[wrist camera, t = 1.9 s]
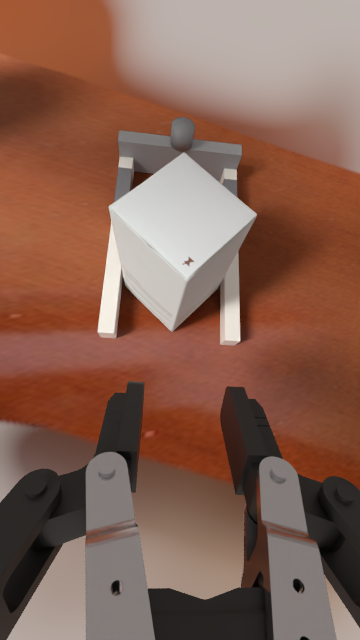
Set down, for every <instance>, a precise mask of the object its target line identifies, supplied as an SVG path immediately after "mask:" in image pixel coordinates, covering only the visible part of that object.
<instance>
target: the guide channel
mask: <svg viewBox="0 0 360 640" xmlns="http://www.w3.org/2000/svg"><path fill="white" fill-rule="evenodd" d="M194 130H195V125H194V123H193V122H192V121H191V120H190V119H188V118H185V117H179V118H176V119H174V120H173V122H172V126H171V136H163V135H155V134H147V133H138V132H130V131H122V130H119V136H118V146H119V154H120V158H119V166H118V174H117V182H116V190H115V198H114V202H115V201H117V200H118V199H120V198H121V197H123V196H124V195H125V194H127V193H128V192H130V191H131V190H132V186H133V177H134V172H142V173H151V174H155V173H156V172H158V171H159V170H160V169H162V168H163V167H164V166H166V165H167V164H168V163H170V162H171V161H173V160H174V159H175V158H177V157H178V156H179V155H181V154H182V153H186V154H187V155H188V156H189V157H190V158H192V159H193V160H194V161H195V162H196V163H197V164H199V165H200V166H201V167H202V168H203V169H204V170H206V171H207V172H208V173H209V174H210V175H211V176H213V177H214V178H215V179H216V180H217V181H220V183H221V184H222V185H223V186H224V187H225V188H227V189H228V190H229V191H230V192H231V193H232V194H234V195H235V196H236V197H237V167H238V165H239V162H240V159H241V157H242V145H238V144H230V143H222V142H213V141H205V140H197V139H193V136H194ZM122 280H123V272H122V268H121V263H120V258H119V254H118V249H117V245H116V240H115V236H114V231H113V226H112V222H111V230H110V238H109V246H108V254H107V261H106V269H105V277H104V285H103V293H102V301H101V309H100V317H99V325H98V334H99V335H100V337H104V338H116V337H117V328H118V318H119V309H120V299H121V290H122ZM239 342H240V303H239V255H238V252H237V254H236V256H235V258H234V259H233V261H232V263H231V265H230V267H229V268H228V270H227V272H226V274H225V276H224V278H223V280H222V281H221V283H220V345H236V344H237V343H239Z"/></svg>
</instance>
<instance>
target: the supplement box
mask: <svg viewBox="0 0 360 640" xmlns="http://www.w3.org/2000/svg"><path fill="white" fill-rule="evenodd" d="M109 212H110V217H111V222H112V226H113V231H114V236H115V240H116V245H117V249H118V254H119V258H120V263H121V268H122V272H123V278H124V282H125V286H126V287H127V288H128V289H129V290H130V291H131V293H132V294H133V295H134V296H135V297H136V298H137V299H139V300H140V301H141V302H142V303H143V304H144V305H145V306H146V307H147V308H148V309H149V310H150V311H151V312H152V313H153V314H154V315H155V316H156V317H157V318H158V319H159V320H160V321H161V322H162V323H163V324H164V325H165V326H166V327H167V328H168V329H169V330H170V331H171V332H173V331H174V330H175V329H176V328H177V327H178V326H179V325H180V324H181V323H182V322H183V321H184V320H185V319H186V318H187V317H189V316H190V315H191V314H192V313H193V312H194V311H195V310H196V309H197V308H198V307H199V306H200V305H201V304H202V303H203V302H204V301H205V300H206V299H208V298H209V297H210V296H211V295H212V294H213V293H214V292H215V291H216V290H217V289H218V287H219V285H220V283H221V281H222V280H223V278H224V276H225V274H226V272H227V270H228V268H229V267H230V265H231V263H232V261H233V259H234V258H235V256H236V254H237V252H238V250H239V248H240V247H241V245H242V243H243V241H244V239H245V237H246V235H247V233H248V232H249V230H250V228H251V226H252V224H253V222H254V221H255V219H256V217H257V214H256V213H255V212H254V211H253V210H252V209H250V208H249V207H248V206H247V205H245V204H244V203H243V202H242V201H241V200H240V199H238V198H237V197H236V196H235V195H234V194H232V193H231V192H230V191H229V190H228V189H227V188H225V187H224V186H223V185H222V184H221V183H220V182H218V181H217V180H216V179H215V178H214V177H213V176H211V175H210V174H209V173H208V172H207V171H206V170H204V169H203V168H202V167H201V166H200V165H199V164H197V163H196V162H195V161H194V160H193V159H192V158H190V157H189V156H188V155H187V154H186V153H182V154H181V155H179V156H178V157H177V158H175V159H174V160H173V161H171V162H170V163H168V164H167V165H166V166H164V167H163V168H162V169H160V170H159V171H158V172H156V173H155V174H154V175H152V176H151V177H149V178H148V179H147V180H145V181H144V182H143V183H141V184H140V185H138V186H137V187H136V188H134V189H133V190H131V191H130V192H128V193H127V194H125V195H124V196H123V197H121V198H120V199H118V200H117V201H115V202H114V203H112V204H111V205H110V206H109Z"/></svg>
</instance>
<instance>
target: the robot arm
mask: <svg viewBox="0 0 360 640" xmlns="http://www.w3.org/2000/svg"><path fill="white" fill-rule="evenodd" d="M143 401H144V382H130V381H128V385H127V391H126V393H115V394H114V395H113V396H112V397H111V398H110V400H109V401H108V404H107V408H106V413H105V417H104V421H103V425H102V429H101V433H100V437H99V441H98V445H97V450H96V453H95V455H94V457H93V459H92V460H91V461H90V462H89V464H87V465H86V466H85V467H83V468H82V469H80V470H78V471H74V472H71V473H68V474H64V475H60V476H58V475H57V473H56V472H54V471H52V470H50V469H39V470H35V471H33V472H30V473H28V474H27V475H26V476H24V477H23V478H22V479H21V480H20V481H19V482H18V483H17V484H16V485H15V486H14V488H13V489H12V490H11V491H10V492H9V493H8V494H7V496H6V497H5V498H4V499H3V500H2V501H1V503H0V640H6V639H7V638H8V636H9V634H10V633H11V631H12V629H13V628H14V626H15V624H16V623H17V621H18V619H19V618H20V616H21V614H22V612H23V611H24V609H25V607H26V606H27V604H28V602H29V601H30V599H31V597H32V596H33V594H34V592H35V591H36V589H37V587H38V585H39V584H40V582H41V580H42V579H43V577H44V575H45V574H46V572H47V570H48V569H49V567H50V565H51V563H52V562H53V560H54V558H55V557H56V555H57V553H58V552H59V550H60V548H61V547H62V545H63V543H65V542H68V541H71V540H73V539H76V538H79V537H82V536H84V535H86V543H85V549H86V550H85V552H86V553H85V558H86V561H85V562H86V564H85V565H86V640H337V639H336V634H335V629H334V624H333V619H332V614H331V609H330V604H329V598H328V593H327V588H326V583H325V578H324V575H325V576H326V578H327V579H328V581H329V582H330V584H331V585H332V587H333V588H334V590H335V591H336V593H337V594H338V596H339V597H340V599H341V600H342V602H343V603H344V605H345V606H346V608H347V609H348V611H349V612H350V614H351V615H352V617H353V618H354V620H355V621H356V623H357V624H358V626H359V627H360V491H359V490H358V489H357V488H356V487H355V486H354V485H353V484H352V483H350V482H349V481H347V480H345V479H343V478H340V477H335V476H331V477H328V478H326V479H325V480H324V482H323V483H321V482H318V481H315V480H312V479H309V478H306V477H303V476H301V475H299V474H297V473H296V471H295V469H294V468H293V467H292V466H291V465H290V464H289V463H288V462H287V461H285V460H283V458H282V456H281V453H280V451H279V448H278V445H277V443H276V440H275V438H274V435H273V433H272V430H271V428H270V425H269V423H268V420H267V419H266V415H265V413H264V410H263V408H262V407H261V406H260V404H259V403H258V402H257V401H256V400H255V399H248V397H247V394H246V392H245V389H244V388H243V387H229V386H228V387H226V390H225V395H224V399H223V404H222V408H221V415H220V420H221V427H222V432H223V437H224V441H225V446H226V451H227V456H228V460H229V465H230V470H231V475H232V479H233V484H234V489H235V494H237V495H244V496H245V500H246V505H245V508H244V565H243V574H242V580H241V588H236V589H234V590H231V591H228V592H226V593H223V594H221V595H218V596H215V597H213V598H210V599H207V600H203V599H200V598H197V597H194V596H191V595H188V594H185V593H181V592H179V591H176V590H173V589H170V588H167V589H147V582H146V575H145V569H144V563H143V555H142V549H141V542H140V535H139V530H138V526H137V524H136V522H135V516H134V509H133V503H132V495H131V492H136V482H137V471H138V460H139V450H140V439H141V428H142V417H143Z"/></svg>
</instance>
